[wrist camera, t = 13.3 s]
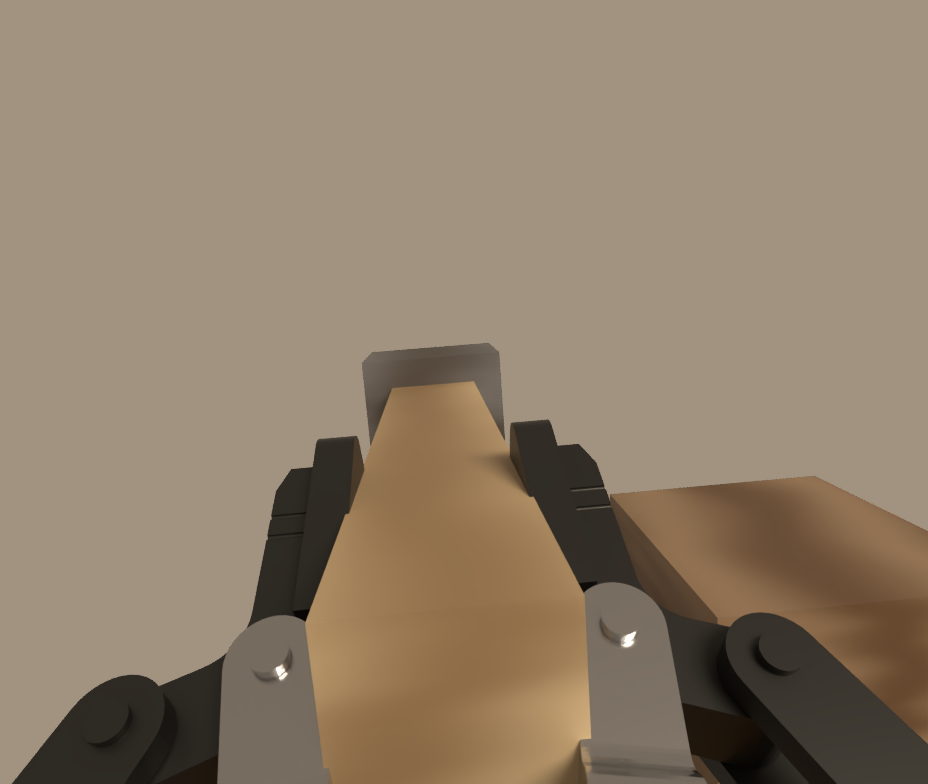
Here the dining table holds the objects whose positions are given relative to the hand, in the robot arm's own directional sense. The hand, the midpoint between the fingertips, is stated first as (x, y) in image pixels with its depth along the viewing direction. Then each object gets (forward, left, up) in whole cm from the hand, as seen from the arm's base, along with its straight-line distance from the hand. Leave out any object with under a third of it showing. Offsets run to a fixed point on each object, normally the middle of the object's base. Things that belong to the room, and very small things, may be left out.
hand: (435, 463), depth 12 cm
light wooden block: (0, -5, -3) cm, 5 cm away
